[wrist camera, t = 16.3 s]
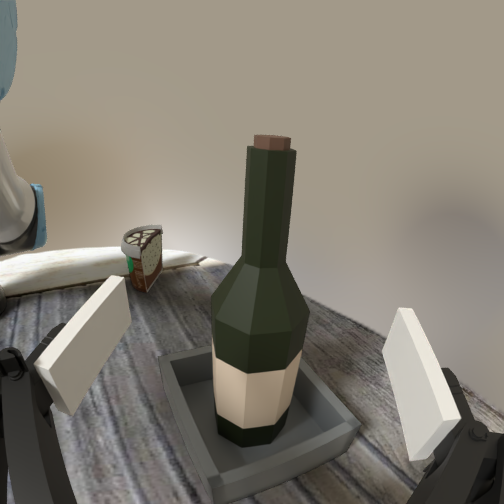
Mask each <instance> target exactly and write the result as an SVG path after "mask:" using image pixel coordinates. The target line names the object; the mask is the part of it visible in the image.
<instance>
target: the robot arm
mask: <svg viewBox="0 0 504 504" xmlns="http://www.w3.org/2000/svg"><path fill="white" fill-rule="evenodd" d="M16 30H17V9H16V1H15V0H0V101H1V100H2V99H3V98H4V97H5V96H6V94H7V93H8V91H9V89H10V87H11V84H12V80H13V77H14V72H15V65H16V55H17V37H16ZM46 241H47V233H46V220H45V208H44V195H43V188H42V186H41V185H40V184H30V185H29V184H28V183H27V182H26V181H25V180H24V179H23V178H21V177H19V176H17V174H16V172H15V169H14V167H13V164H12V161H11V159H10V156H9V153H8V150H7V148H6V144H5V142H4V139H3V135H2V132H1V129H0V257H1V256H6V255H10V254H14V253H19V252H24V251H29V250H30V251H33V250H34V249H37V248H40V247H43V246H44V245H45V244H46ZM6 302H7V300H6V297H5V294H4V291H3V288H2V287H1V285H0V314H1V313H2V312H3V310H4V309H5V306H6ZM131 323H132V321H131V315H130V310H129V304H128V298H127V292H126V285H125V278H124V277H119V276H113V275H111V276H110V277H109V278H108V279H107V280H106V281H105V282H104V283H103V284H102V286H101V287H100V288H99V289H98V290H97V291H96V292H95V293H94V294H93V295H92V296H91V297H90V299H89V300H88V301H87V302H86V303H85V304H84V305H83V306H82V307H81V308H80V310H79V311H78V312H77V313H76V314H75V315H74V316H73V318H72V319H71V320H70V321H69V322H68V323H67V324H65V323H61V324H59V325H58V326H56V327H54V328H53V329H52V330H51V331H50V332H49V333H48V334H47V336H46V337H45V338H44V339H43V340H42V341H41V343H40V344H39V345H38V346H37V347H36V348H35V350H34V351H33V352H32V353H31V354H30V356H29V357H28V358H27V359H26V360H25V361H24V358H23V356H22V354H21V352H20V351H19V350H18V349H16V348H13V347H11V348H6V349H3V350H1V351H0V504H7V476H8V468H9V474H10V480H11V485H12V490H13V495H14V499H15V504H77V502H76V499H75V496H74V493H73V490H72V487H71V484H70V481H69V478H68V475H67V471H66V468H65V465H64V461H63V457H62V454H61V450H60V446H59V442H58V438H57V434H56V429H55V425H54V420H53V415H52V411H51V409H50V406H51V404H52V403H53V402H54V404H55V406H56V407H57V409H58V411H61V412H63V413H65V414H68V415H70V416H73V415H74V413H75V411H76V410H77V408H78V406H79V405H80V403H81V401H82V400H83V398H84V396H85V395H86V393H87V391H88V390H89V388H90V387H91V385H92V383H93V382H94V380H95V378H96V377H97V375H98V374H99V372H100V370H101V369H102V367H103V366H104V364H105V363H106V361H107V359H108V358H109V356H110V355H111V353H112V352H113V350H114V348H115V347H116V345H117V344H118V342H119V341H120V339H121V338H122V336H123V335H124V333H125V332H126V330H127V329H128V327H129V326H130V324H131ZM382 353H383V357H384V360H385V364H386V367H387V370H388V374H389V378H390V381H391V385H392V389H393V392H394V396H395V400H396V404H397V408H398V412H399V416H400V420H401V424H402V428H403V433H404V437H405V441H406V446H407V451H408V455H409V460H410V461H415V460H422V459H427V458H428V456H429V455H430V454H431V453H432V452H434V455H435V459H434V460H433V461H432V462H431V463H430V464H429V465H428V466H427V467H426V468H425V469H424V470H423V472H426V473H425V475H424V476H423V478H422V480H421V481H420V483H419V485H418V486H417V488H416V489H415V491H414V493H413V494H412V496H411V497H410V499H409V500H408V502H407V503H406V504H504V434H501V433H493V432H489V430H488V428H487V427H486V426H485V425H484V424H483V423H481V422H479V421H475V420H474V417H473V415H472V413H471V410H470V408H469V405H468V403H467V400H466V398H465V396H464V394H463V391H462V389H461V387H460V384H459V382H458V380H457V378H456V376H455V375H454V374H453V372H452V371H451V370H450V369H449V368H440V366H439V363H438V361H437V359H436V357H435V354H434V352H433V350H432V348H431V346H430V344H429V342H428V339H427V338H426V335H425V333H424V331H423V329H422V327H421V325H420V323H419V321H418V319H417V317H416V315H415V313H414V311H413V309H412V308H398V310H397V313H396V316H395V318H394V321H393V324H392V327H391V329H390V332H389V334H388V337H387V340H386V342H385V345H384V347H383V350H382Z"/></svg>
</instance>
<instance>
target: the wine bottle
mask: <svg viewBox="0 0 504 504" xmlns="http://www.w3.org/2000/svg"><path fill="white" fill-rule="evenodd" d="M290 143H291V138H289V137H283V136H275V135H254V146H247V159H246V178H245V197H244V218H243V238H242V256H241V257H240V259H239V260H238V261H237V262H236V264H235V265H234V266H233V268H232V269H231V270H230V272H229V273H228V274H227V276H226V277H225V278H224V280H223V281H222V282H221V284H220V285H219V286H218V288H217V289H216V290H215V292H214V293H213V295H212V296H211V315H212V358H213V387H214V410H215V418H216V424H217V430H218V434H219V435H221V436H222V437H224V438H225V439H227V440H229V441H231V442H232V443H234V444H236V445H237V446H239V447H241V448H246V447H253V446H261V445H267V444H271V443H272V441H273V440H274V439H275V438H276V436H277V435H278V434H279V432H280V431H281V430H282V429H283V427H284V426H285V423H286V419H287V415H288V411H289V407H290V402H291V398H292V394H293V390H294V385H295V381H296V376H297V372H298V367H299V362H300V358H301V353H302V348H303V343H304V338H305V333H306V328H307V323H308V318H309V313H310V310H309V308H308V306H307V304H306V302H305V300H304V298H303V296H302V294H301V292H300V290H299V288H298V286H297V284H296V282H295V280H294V278H293V276H292V274H291V272H290V270H289V268H288V265H287V263H286V252H287V244H288V235H289V224H290V216H291V206H292V196H293V185H294V174H295V163H296V162H295V161H296V150H293V149H290Z"/></svg>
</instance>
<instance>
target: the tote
mask: <svg viewBox="0 0 504 504" xmlns="http://www.w3.org/2000/svg"><path fill="white" fill-rule="evenodd" d="M158 361H159V366H160V371H161V377H162V382H163V387H164V390H165V393H166V396H167V399H168V402H169V404H170V407H171V410H172V412H173V415H174V418H175V420H176V423H177V425H178V428H179V431H180V433H181V436H182V438H183V440H184V443H185V445H186V448H187V450H188V452H189V455H190V457H191V459H192V462H193V464H194V466H195V468H196V471H197V473H198V475H199V477H200V479H201V482H202V484H203V486H204V488H205V490H206V492H207V494H208V496H209V498H210V500H211V502H212V504H229V503H232V502H235V501H238V500H241V499H243V498H246V497H249V496H252V495H254V494H257V493H260V492H262V491H265V490H267V489H270V488H272V487H275V486H277V485H279V484H282V483H284V482H286V481H289V480H291V479H293V478H295V477H298V476H300V475H302V474H304V473H306V472H308V471H310V470H312V469H314V468H316V467H318V466H320V465H322V464H324V463H326V462H328V461H330V460H332V459H334V458H336V457H338V456H339V455H341V454H343V453H345V452H346V451H347V449H348V448H349V446H350V444H351V442H352V441H353V439H354V437H355V435H356V434H357V432H358V430H359V428H360V426H361V425H362V424H361V423H360V422H359V421H358V419H357V418H356V417H355V416H354V415H353V414H352V413H351V412H350V411H349V410H348V409H347V407H346V406H345V405H344V404H343V403H342V402H341V401H340V400H339V399H338V398H337V396H336V395H335V394H334V393H333V392H332V391H331V390H330V389H329V388H328V386H327V385H326V384H325V383H324V382H323V381H322V380H321V379H320V377H319V376H318V375H317V374H316V373H315V372H314V371H313V370H312V368H311V367H310V366H309V365H308V364H307V363H306V362H305V361H304V359H303V358H302V357H301V358H300V362H299V367H298V372H297V376H296V381H295V385H294V390H293V394H292V398H291V402H290V407H289V411H288V415H287V419H286V423H285V426H284V427H283V429H282V430H281V431H280V432H279V434H278V435H277V436H276V438H275V439H274V440H273V441H272V443H271V444H267V445H261V446H253V447H246V448H241V447H239V446H237V445H236V444H234V443H232V442H231V441H229V440H227V439H225V438H224V437H222V436H221V435H219V434H218V430H217V424H216V418H215V410H214V387H213V358H212V345H209V346H204V347H200V348H195V349H191V350H186V351H182V352H177V353H172V354H167V355H162V356H158Z"/></svg>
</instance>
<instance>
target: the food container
mask: <svg viewBox="0 0 504 504" xmlns="http://www.w3.org/2000/svg"><path fill="white" fill-rule="evenodd" d="M162 234H163V232H162V227H161V225H148V226H142V227H137V228H134V229H132V230H130V231H128V232H127V233H125V234H124V236H123V239H122V245H121V250H122V252H123V253H124V254H126V259H127V264H128V268H129V273H130V278H131V282H132V285H133V287H134V288H135V289H137V290H139V291H141V292H146V293H147V292H148V291H149V289H150V288H151V286H152V285H153V283H154V282H155V281H156V279H157V278H158V276H159V275H160V273H161V272H162V271H163V266H162Z"/></svg>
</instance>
